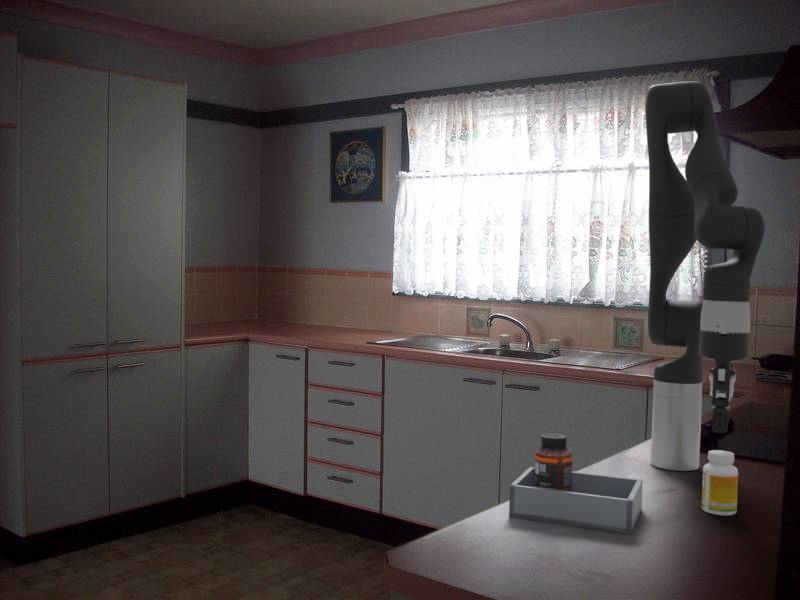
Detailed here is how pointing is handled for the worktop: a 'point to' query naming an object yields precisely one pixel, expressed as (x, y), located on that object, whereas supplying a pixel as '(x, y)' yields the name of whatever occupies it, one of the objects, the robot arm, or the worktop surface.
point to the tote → (580, 502)
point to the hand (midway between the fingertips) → (720, 428)
